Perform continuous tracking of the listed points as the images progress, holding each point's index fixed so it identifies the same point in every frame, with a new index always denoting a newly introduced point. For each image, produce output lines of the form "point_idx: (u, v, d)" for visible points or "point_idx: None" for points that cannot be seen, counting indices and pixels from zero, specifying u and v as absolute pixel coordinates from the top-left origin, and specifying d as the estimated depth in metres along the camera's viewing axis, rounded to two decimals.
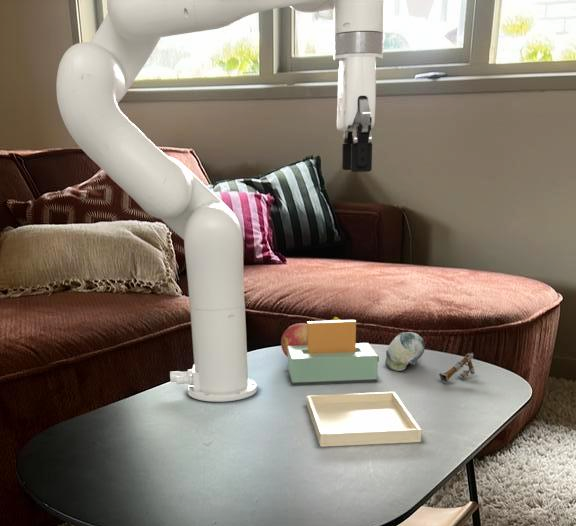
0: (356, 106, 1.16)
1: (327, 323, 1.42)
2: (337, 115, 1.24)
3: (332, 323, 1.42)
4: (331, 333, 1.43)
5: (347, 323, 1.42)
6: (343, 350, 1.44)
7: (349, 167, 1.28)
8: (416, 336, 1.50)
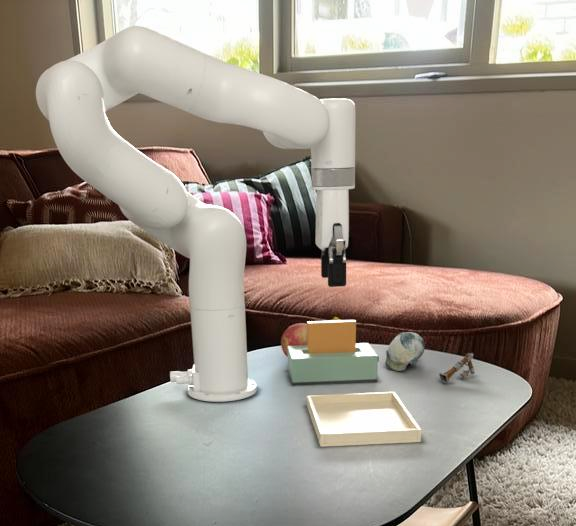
0: (331, 232, 1.31)
1: (327, 323, 1.42)
2: None
3: (332, 323, 1.42)
4: (331, 333, 1.43)
5: (347, 323, 1.42)
6: (343, 350, 1.44)
7: (327, 275, 1.43)
8: (416, 336, 1.50)
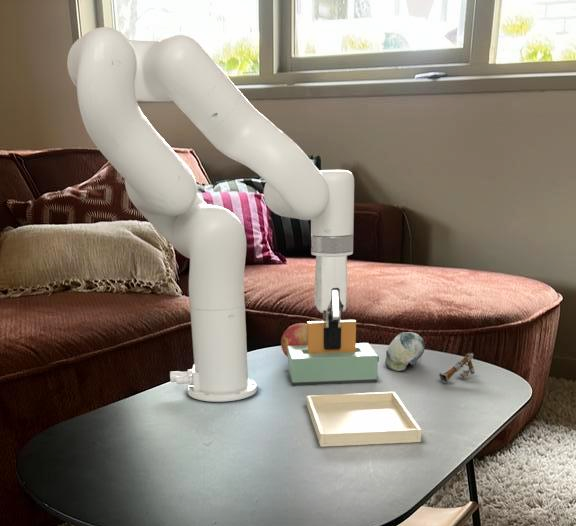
0: (330, 296, 1.35)
1: None
2: None
3: None
4: None
5: (347, 323, 1.42)
6: (343, 350, 1.44)
7: None
8: (416, 336, 1.50)
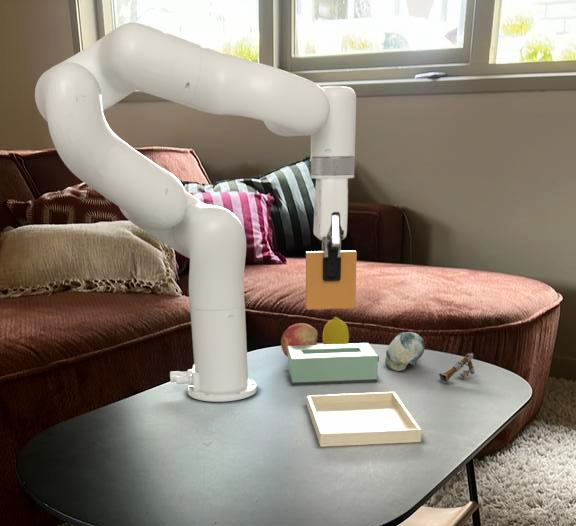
0: (330, 221, 1.29)
1: None
2: (314, 223, 1.37)
3: None
4: None
5: (348, 253, 1.36)
6: (343, 282, 1.38)
7: None
8: (416, 336, 1.50)
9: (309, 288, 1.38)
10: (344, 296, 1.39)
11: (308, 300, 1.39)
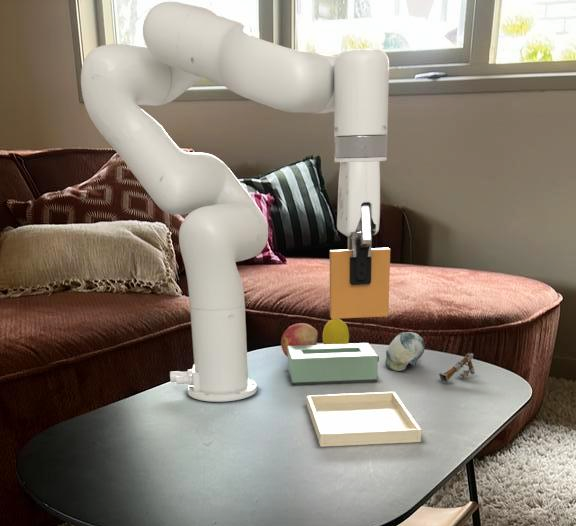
0: (359, 213, 1.08)
1: None
2: (338, 216, 1.15)
3: None
4: None
5: (380, 251, 1.14)
6: (374, 286, 1.17)
7: None
8: (416, 336, 1.50)
9: (334, 294, 1.17)
10: (375, 303, 1.18)
11: (333, 308, 1.17)
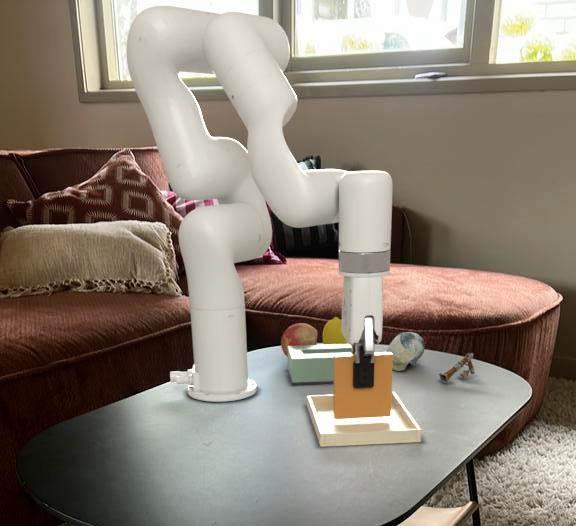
0: (362, 325, 1.10)
1: None
2: (342, 321, 1.18)
3: None
4: None
5: (383, 356, 1.17)
6: (377, 388, 1.19)
7: None
8: (416, 336, 1.50)
9: (337, 396, 1.19)
10: (378, 404, 1.20)
11: (336, 409, 1.20)
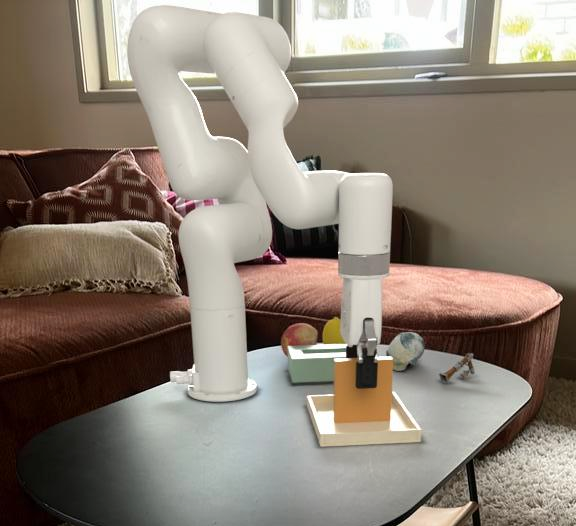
0: (361, 327, 1.11)
1: None
2: (341, 322, 1.18)
3: None
4: None
5: (383, 361, 1.17)
6: (377, 393, 1.19)
7: None
8: (416, 336, 1.50)
9: (338, 400, 1.19)
10: (378, 408, 1.21)
11: (336, 413, 1.20)
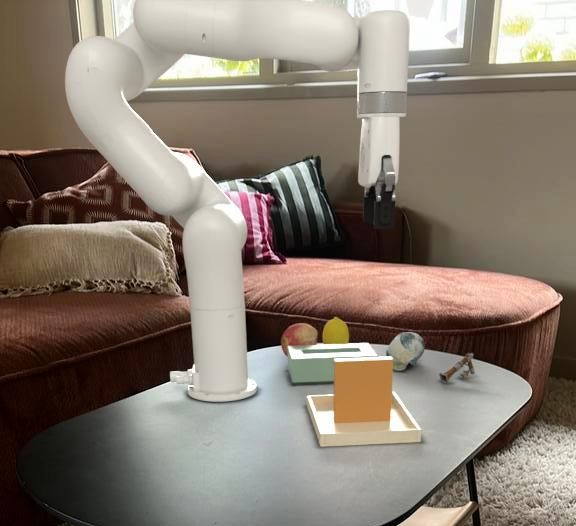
0: (380, 165, 1.16)
1: (358, 361, 1.17)
2: (359, 170, 1.24)
3: (364, 361, 1.17)
4: (363, 373, 1.18)
5: (383, 361, 1.17)
6: (377, 393, 1.19)
7: (370, 220, 1.28)
8: (416, 336, 1.50)
9: (338, 400, 1.19)
10: (378, 408, 1.21)
11: (336, 413, 1.20)
